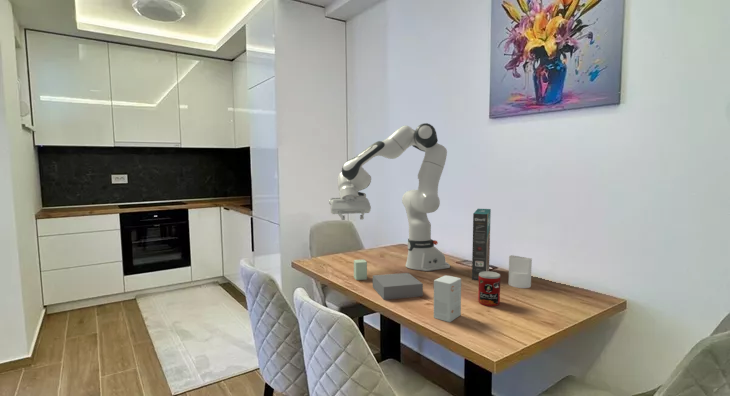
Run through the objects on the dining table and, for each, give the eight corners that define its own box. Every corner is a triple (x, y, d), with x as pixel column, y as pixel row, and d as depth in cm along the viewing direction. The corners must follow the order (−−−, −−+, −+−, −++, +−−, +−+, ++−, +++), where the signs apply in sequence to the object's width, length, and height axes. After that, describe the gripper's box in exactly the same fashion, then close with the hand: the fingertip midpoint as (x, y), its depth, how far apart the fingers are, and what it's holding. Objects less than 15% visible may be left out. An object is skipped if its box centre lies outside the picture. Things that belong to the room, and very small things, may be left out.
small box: (444, 310, 134) (445, 274, 133) (461, 315, 130) (461, 278, 128) (432, 317, 127) (433, 280, 126) (450, 322, 123) (450, 283, 122)
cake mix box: (485, 281, 168) (487, 214, 166) (471, 279, 171) (473, 213, 168) (489, 268, 189) (490, 209, 186) (476, 267, 191) (477, 208, 188)
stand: (408, 284, 164) (408, 272, 164) (422, 296, 149) (422, 283, 148) (372, 287, 160) (372, 275, 160) (383, 299, 145) (383, 287, 144)
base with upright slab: (534, 284, 163) (534, 257, 162) (526, 289, 157) (527, 261, 156) (513, 280, 169) (513, 254, 168) (504, 285, 163) (505, 257, 162)
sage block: (364, 276, 176) (364, 259, 176) (366, 279, 172) (366, 262, 171) (353, 277, 175) (353, 260, 174) (356, 280, 170) (356, 262, 170)
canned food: (477, 305, 139) (477, 275, 138) (479, 298, 147) (479, 270, 146) (499, 307, 136) (499, 278, 135) (500, 300, 144) (500, 272, 143)
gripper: (329, 194, 190) (332, 215, 181) (368, 193, 195) (373, 214, 186) (327, 202, 195) (331, 223, 186) (366, 201, 200) (371, 222, 191)
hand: (352, 219), depth 186 cm, fingers open, 8 cm apart
